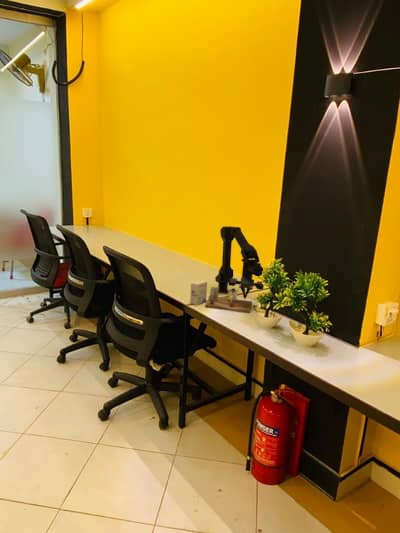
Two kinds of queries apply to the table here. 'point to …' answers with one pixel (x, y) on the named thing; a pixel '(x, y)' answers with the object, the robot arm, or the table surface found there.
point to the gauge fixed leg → (214, 293)
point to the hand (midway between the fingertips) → (244, 298)
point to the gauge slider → (232, 295)
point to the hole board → (225, 304)
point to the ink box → (198, 292)
